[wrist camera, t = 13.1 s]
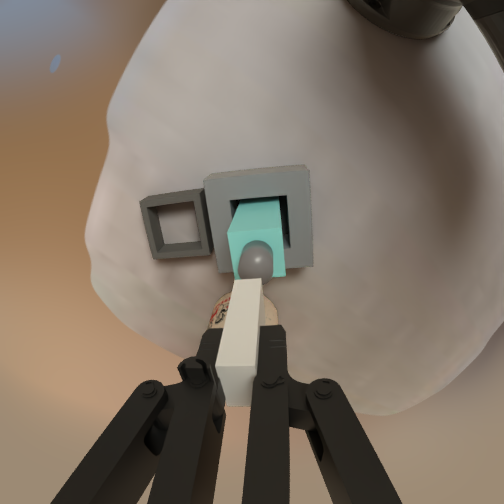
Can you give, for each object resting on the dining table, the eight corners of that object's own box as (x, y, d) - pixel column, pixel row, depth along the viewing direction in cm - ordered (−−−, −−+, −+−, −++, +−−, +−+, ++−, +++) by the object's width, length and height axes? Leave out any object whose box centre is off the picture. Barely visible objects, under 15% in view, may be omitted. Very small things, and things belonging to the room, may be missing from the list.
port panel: (304, 164, 29) (309, 170, 25) (308, 250, 33) (313, 266, 29) (211, 173, 30) (203, 180, 26) (224, 257, 34) (218, 273, 30)
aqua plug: (278, 193, 31) (282, 240, 18) (281, 228, 32) (287, 293, 20) (241, 197, 31) (221, 246, 19) (246, 231, 33) (231, 297, 20)
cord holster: (204, 188, 31) (199, 193, 28) (214, 246, 34) (210, 255, 31) (148, 196, 31) (139, 201, 29) (160, 250, 34) (153, 259, 32)
